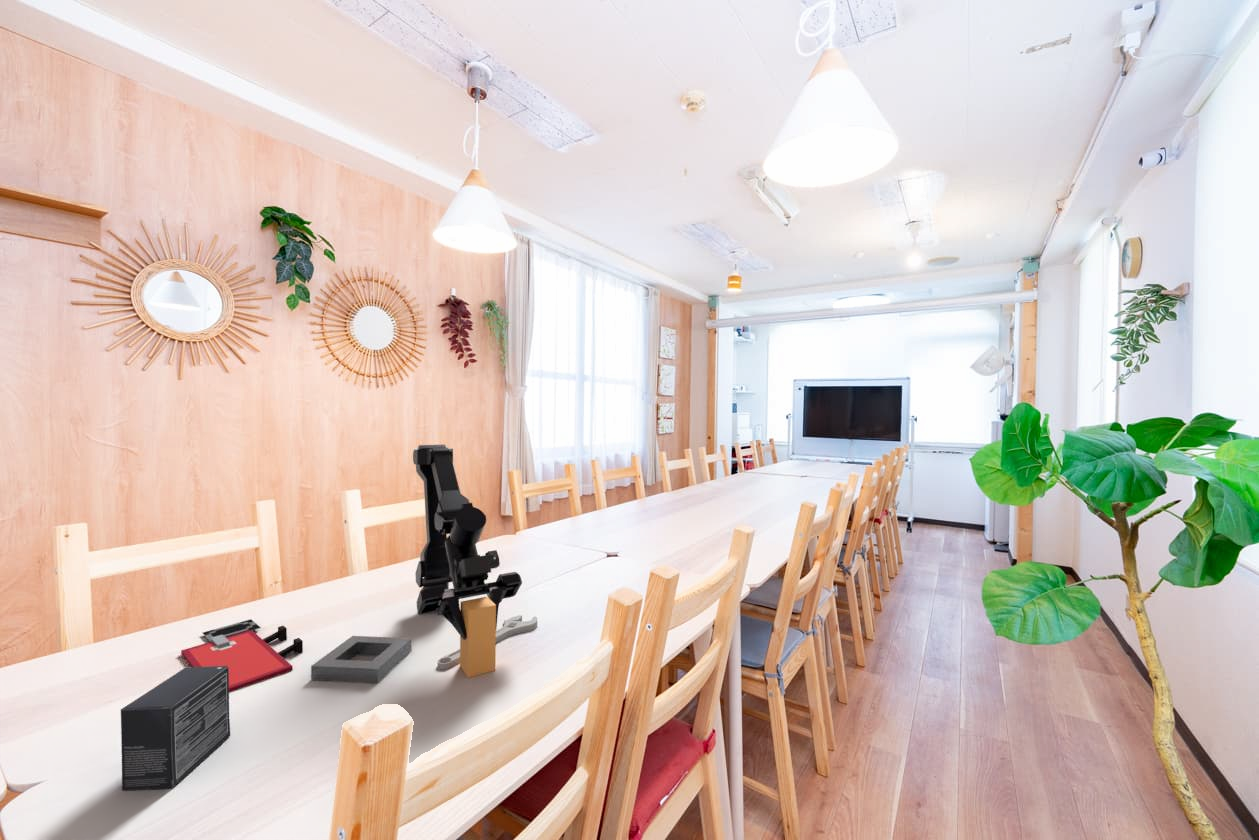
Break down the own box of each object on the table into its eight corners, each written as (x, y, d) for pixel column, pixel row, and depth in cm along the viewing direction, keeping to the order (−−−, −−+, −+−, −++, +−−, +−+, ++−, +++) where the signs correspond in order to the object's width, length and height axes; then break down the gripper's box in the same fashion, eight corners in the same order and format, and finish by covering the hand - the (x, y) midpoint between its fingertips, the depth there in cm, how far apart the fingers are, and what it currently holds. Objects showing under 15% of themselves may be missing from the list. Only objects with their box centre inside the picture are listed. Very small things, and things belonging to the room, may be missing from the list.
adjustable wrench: (443, 674, 93) (443, 664, 93) (423, 663, 97) (423, 654, 97) (542, 626, 114) (542, 618, 114) (521, 619, 117) (521, 611, 117)
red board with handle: (261, 620, 114) (172, 645, 102) (260, 608, 114) (171, 631, 102) (315, 665, 96) (214, 702, 84) (315, 650, 95) (214, 685, 84)
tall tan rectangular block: (460, 665, 95) (460, 601, 95) (486, 658, 98) (487, 596, 98) (467, 677, 91) (468, 610, 91) (495, 670, 94) (496, 605, 93)
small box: (184, 737, 73) (184, 665, 73) (232, 735, 74) (232, 664, 74) (116, 792, 63) (116, 707, 63) (173, 789, 64) (173, 706, 63)
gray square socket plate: (352, 648, 101) (352, 635, 101) (411, 650, 101) (411, 638, 100) (311, 680, 89) (311, 665, 89) (377, 683, 89) (377, 668, 89)
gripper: (420, 543, 92) (434, 626, 83) (519, 531, 102) (541, 604, 93) (411, 575, 99) (423, 655, 90) (504, 560, 109) (524, 631, 100)
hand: (480, 635), depth 93 cm, fingers closed on tall tan rectangular block, 5 cm apart
